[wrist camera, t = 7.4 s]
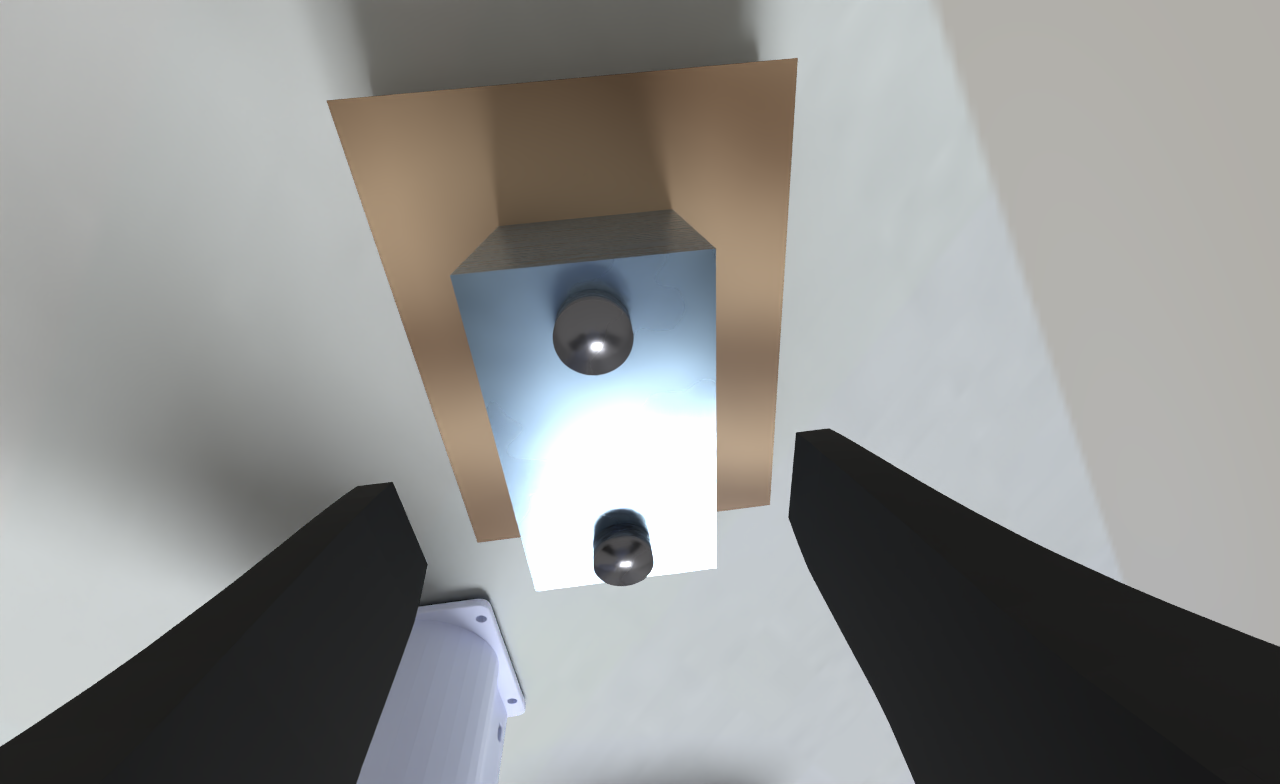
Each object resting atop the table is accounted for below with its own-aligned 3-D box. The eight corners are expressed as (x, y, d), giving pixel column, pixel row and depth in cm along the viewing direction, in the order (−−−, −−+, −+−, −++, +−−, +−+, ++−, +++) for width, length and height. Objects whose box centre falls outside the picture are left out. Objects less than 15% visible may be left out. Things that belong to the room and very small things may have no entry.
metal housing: (672, 209, 13) (724, 256, 8) (682, 453, 17) (721, 587, 12) (499, 226, 13) (440, 284, 8) (550, 468, 16) (533, 612, 11)
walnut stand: (748, 460, 21) (769, 504, 18) (491, 492, 20) (477, 542, 18) (760, 71, 14) (798, 57, 11) (374, 106, 13) (326, 100, 11)
